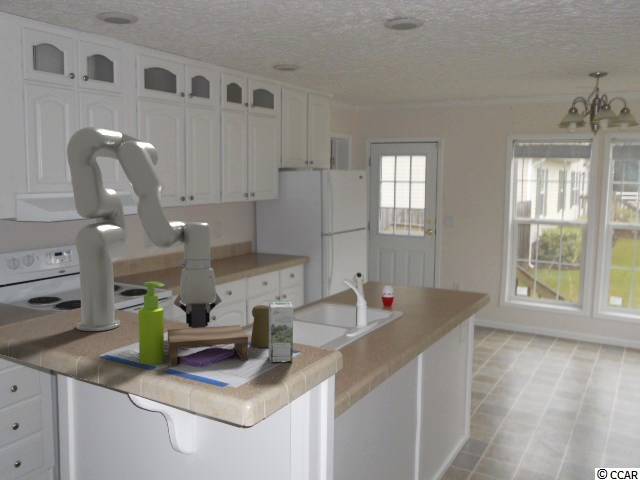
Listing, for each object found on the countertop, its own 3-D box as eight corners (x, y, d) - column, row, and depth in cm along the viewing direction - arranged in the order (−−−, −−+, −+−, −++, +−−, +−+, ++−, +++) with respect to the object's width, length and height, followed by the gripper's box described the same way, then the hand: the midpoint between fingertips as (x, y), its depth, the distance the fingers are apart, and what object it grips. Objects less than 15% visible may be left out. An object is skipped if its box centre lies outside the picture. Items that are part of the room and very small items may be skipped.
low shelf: (167, 352, 149) (167, 329, 149) (239, 346, 155) (239, 325, 155) (170, 366, 138) (170, 342, 137) (247, 359, 144) (247, 336, 143)
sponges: (179, 364, 141) (179, 357, 141) (213, 351, 152) (213, 344, 152) (201, 369, 138) (201, 362, 138) (234, 356, 148) (234, 349, 148)
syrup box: (290, 355, 148) (290, 300, 146) (293, 362, 142) (293, 306, 140) (268, 356, 147) (268, 301, 145) (270, 363, 141) (270, 306, 140)
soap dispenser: (154, 366, 138) (153, 285, 136) (134, 361, 141) (132, 282, 139) (172, 359, 143) (171, 281, 141) (152, 355, 146) (150, 278, 144)
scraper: (185, 331, 170) (185, 301, 169) (209, 329, 172) (208, 300, 171) (190, 346, 154) (190, 314, 153) (216, 344, 157) (216, 312, 156)
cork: (268, 348, 154) (268, 308, 152) (247, 347, 155) (247, 307, 154) (274, 342, 159) (275, 304, 158) (254, 341, 161) (254, 302, 159)
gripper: (168, 267, 160) (169, 330, 162) (227, 265, 166) (228, 326, 168) (167, 263, 167) (168, 324, 169) (224, 261, 173) (224, 320, 175)
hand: (197, 324), depth 168 cm, fingers closed on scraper, 4 cm apart
